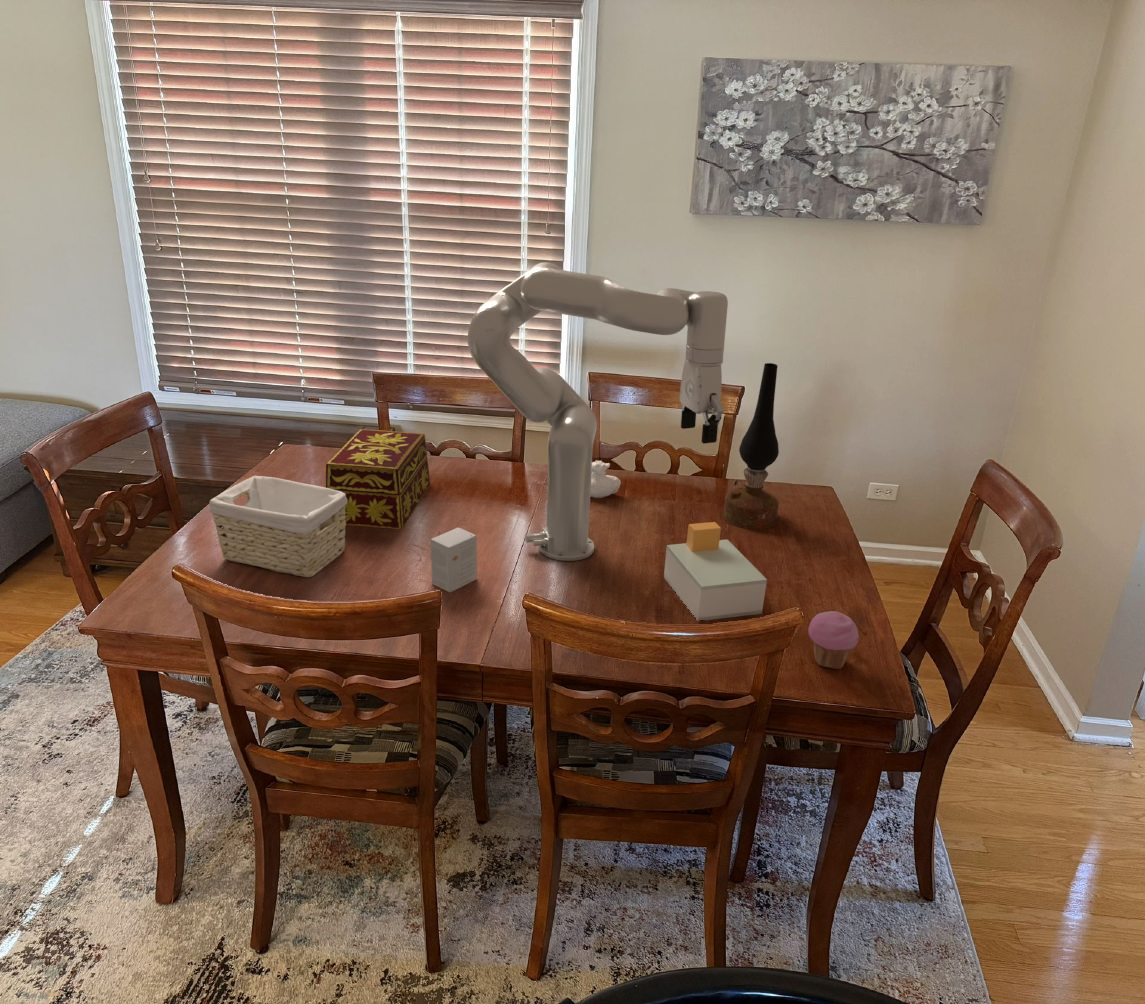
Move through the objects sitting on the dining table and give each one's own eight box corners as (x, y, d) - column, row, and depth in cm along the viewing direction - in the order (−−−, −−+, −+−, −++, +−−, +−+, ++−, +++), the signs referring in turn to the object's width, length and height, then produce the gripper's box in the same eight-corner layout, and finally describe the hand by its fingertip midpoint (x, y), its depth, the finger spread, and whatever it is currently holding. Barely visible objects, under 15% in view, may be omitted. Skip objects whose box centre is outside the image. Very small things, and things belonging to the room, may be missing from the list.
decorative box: (402, 530, 196) (400, 471, 190) (325, 524, 197) (319, 465, 191) (431, 485, 221) (429, 431, 215) (361, 480, 222) (358, 426, 216)
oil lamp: (783, 530, 213) (840, 380, 199) (753, 539, 201) (812, 379, 187) (737, 507, 220) (789, 361, 207) (707, 514, 209) (759, 360, 195)
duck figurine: (573, 501, 221) (572, 480, 211) (576, 476, 224) (575, 454, 214) (619, 505, 220) (620, 484, 210) (621, 480, 223) (622, 458, 213)
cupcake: (855, 679, 149) (865, 631, 145) (805, 672, 150) (814, 625, 146) (849, 651, 157) (858, 605, 153) (801, 645, 158) (809, 599, 154)
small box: (459, 570, 179) (458, 526, 175) (477, 579, 176) (477, 534, 172) (430, 584, 173) (429, 538, 169) (449, 593, 170) (448, 547, 166)
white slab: (765, 586, 166) (770, 557, 163) (700, 593, 162) (704, 563, 159) (726, 546, 181) (730, 518, 179) (666, 551, 178) (669, 523, 175)
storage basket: (354, 551, 185) (350, 489, 179) (311, 584, 171) (305, 519, 165) (262, 532, 192) (255, 472, 186) (213, 563, 178) (204, 499, 172)
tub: (761, 613, 168) (766, 583, 165) (697, 621, 164) (701, 590, 162) (723, 571, 184) (726, 542, 181) (663, 577, 180) (666, 548, 177)
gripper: (669, 346, 176) (664, 424, 183) (707, 366, 161) (700, 450, 168) (701, 344, 178) (695, 421, 185) (742, 364, 163) (734, 446, 170)
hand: (698, 435), depth 176 cm, fingers open, 9 cm apart
